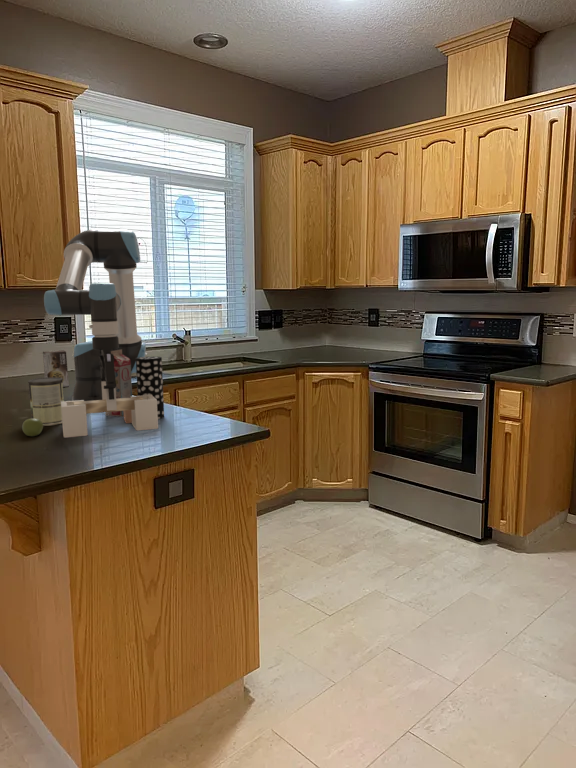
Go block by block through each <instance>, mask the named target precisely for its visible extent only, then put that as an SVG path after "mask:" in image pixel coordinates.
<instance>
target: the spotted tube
mask: <svg viewBox="0 0 576 768" xmlns="http://www.w3.org/2000/svg"><path fill="white" fill-rule="evenodd" d="M162 360H163V358H162V356H152V355H151V356H147V357H138V358H136V374H137V376H136V388H137V389H136V391H137V396H142V395H152V396H153V397H155V398H156V399H157V413H158V420H159V419H160V420H161V419H163V418H165V402H164V379H163V361H162Z"/></svg>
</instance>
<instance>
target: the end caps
mask: <svg viewBox="0 0 576 768" xmlns="http://www.w3.org/2000/svg"><path fill="white" fill-rule="evenodd" d="M133 397H142V398H143V399H144V400H134V405H135V410H131V413H132V423H131V425H132V426H133V428H134V430H135V431H146V430H157V429H159V419H158V413H157V399H156V398H155V397H153V396H152V395H142V396H138V395H134V396H133V395H132V396H131V398H133ZM80 401H84V400H75V401H72V400H64V401H62V402H61V412H62V423H61V424H62V435H63V438H77V437H85V436H88V420H87V419H88V418H87V414H86V405H85V404H83V405H74V403H73V402H80Z"/></svg>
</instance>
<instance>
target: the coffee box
mask: <svg viewBox="0 0 576 768" xmlns="http://www.w3.org/2000/svg"><path fill="white" fill-rule="evenodd" d="M42 357H43V358H42V359H43V369H44V371H43V372H44V378H47V377H58V378H62V379H63V381H62V382H63V388H65V387H69V386H70V383H69V372H68V359H67V357H68V356H67V351H65V350H64V349H63V350H61V349H60V350H49V351H48V350H47V351H42Z"/></svg>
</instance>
